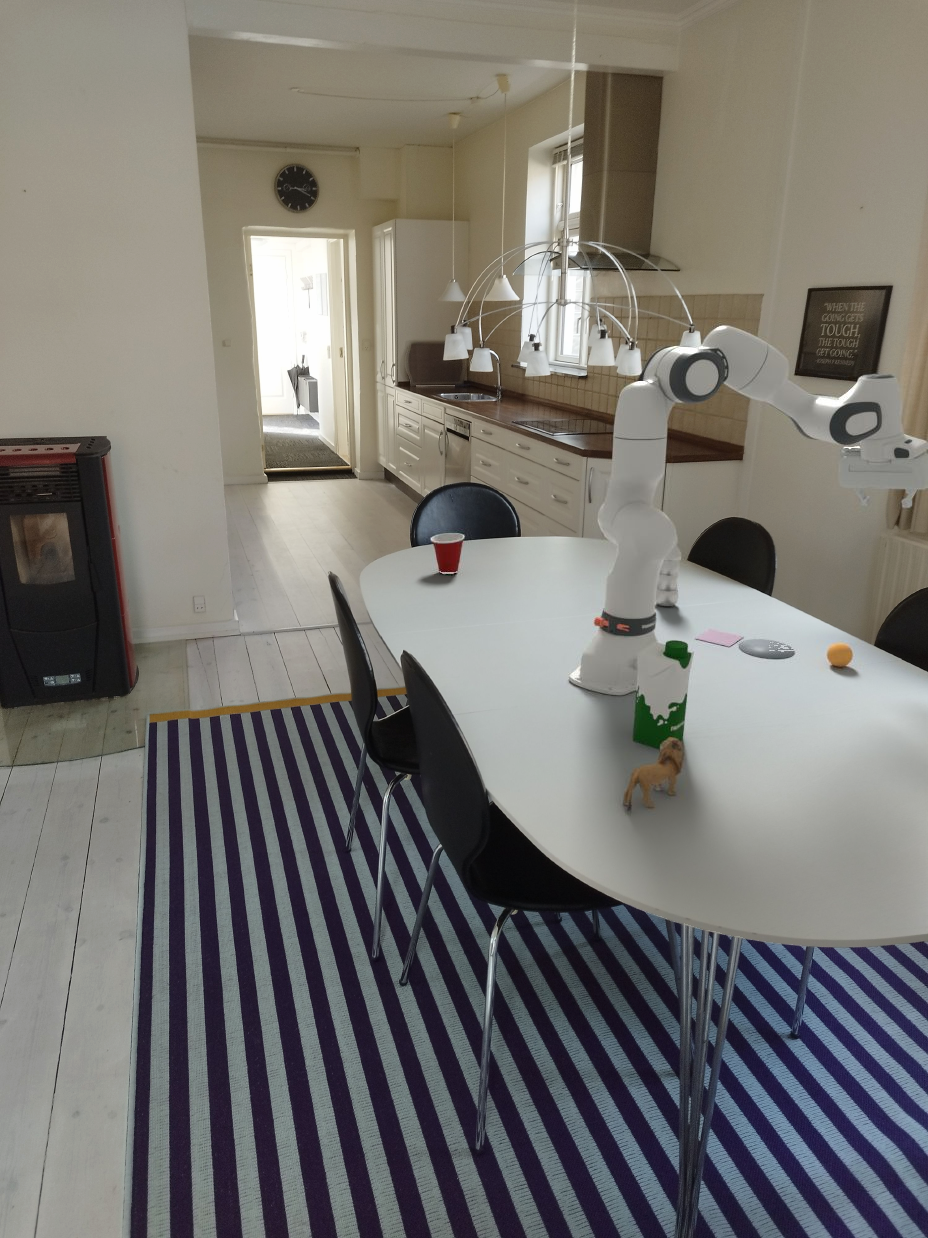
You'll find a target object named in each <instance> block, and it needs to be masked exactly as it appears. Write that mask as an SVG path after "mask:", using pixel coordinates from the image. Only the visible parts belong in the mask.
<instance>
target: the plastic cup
mask: <svg viewBox="0 0 928 1238" xmlns="http://www.w3.org/2000/svg"><path fill="white" fill-rule="evenodd" d="M464 540H465V534H462V533H457V532H448V533H440V534H436V535H434V536H432V537H430V541H431V543H432V546H433V547H434V548H433V549H434V552H435V558H436V563H437V567H438V572H439V571H441V572H456V571H457V572H458V571H459V564H460V561H461V554H462V548H463V543H464Z"/></svg>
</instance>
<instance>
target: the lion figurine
mask: <svg viewBox="0 0 928 1238" xmlns="http://www.w3.org/2000/svg"><path fill="white" fill-rule="evenodd" d="M684 750H685V747H684V745H683V744H682V742H681V740H680V741H679V740H678V739H677V738H672V737H669V738H668V739H667V740H665V741H664V742H663V743H662V744H661V745H660V749H659V756H658V760H657V761H656V762H654V763H651V764H648V765H639V766H637V767H636V768H634V769H633V771H632V773H631V775H630V780H629V783H628V787H627V789H626V790H625V792H624V793H623V798H622V799H623V800H622V804H623V805H624V806H627V809H626V812H631V811H632V795H633V791H634V790H635V789H636V787H637V786H638V785H639V787H640V789H641V791H642V797H641V798H642V799H641V800H642V802H643V803H644V804H645V806H646V807H648V808H651V809H652V808H654V807H655V803H654V802H652V801H649V797H650V794H651V793H652V792H651V791H652V788H654V790H655V791H657V792H659V791H661V790H662V788H663V787H662V784H663V783H664V782H666V781H667V780H668V783H669V784H668V789H667V791H668V792H667V793H668V794H669V795H670V796H676V795H677V793H676V791H675V786H676V784H677V783H676V782H677V776H678V775H680V774H681V773H682V769H683V767H684V766H683V765H684V756H685V751H684ZM652 785H654V787H652Z"/></svg>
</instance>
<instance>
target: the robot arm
mask: <svg viewBox="0 0 928 1238" xmlns="http://www.w3.org/2000/svg"><path fill="white" fill-rule="evenodd" d="M789 374H790V363H789V360H788V358H787V357H786V356H785V355H784V354H782V353H781V352H780V351H779V350H778V349H777V348H775V347H774V346H773V345H771V344H769V343H768V342H767V341H765V340H763V339H762V338H760V337H758V336H756V335H754V334H752V333H750V332H748V331H745V330H742V329H740V328H737V327H734V326H731V325H721V326H718V327H715V328H714V329H713V330H711V331H710V332H709V333H708V334H707V335H706V337H705V338H704V340H703V341H702V343H701V344H700V346H698V347H692V346H689V345H688V346H687V345H675V346H674V345H669V346H664V347H661V348H659V349H657V350H656V351H654V352H653V353H652V354H650V356H649V357H648V359H647V360H646V362H645V364H644V367H643V369H642V371H641V373H640V375H639V376H638V379H637V381H636V382H635V381H634V382H632V383H630V384H628V385H626V386H625V387H623V389H621V392H620V394H619V397H618V401H617V405H616V410H615V415H614V423H613V439H612V440H613V441H612V457H611V459H612V460H611V462H612V463H611V473H610V479H609V484H608V486H607V487H608V488H607V491H606V495H605V499H604V502H603V504H601V506H600V507H599V510H598V512H597V524H598V526H599V528H600V530H601V533H602V534H603V536H604V537H605V538H606V539H607V540H608V541H610V542H611V543H613V544H614V545H616V556H615V559H614V564H613V566H612V569H611V571H610V572H608V574H607V576H606V583H605V596H604V597H605V599H604V608H603V609H602V612H601V615H600V616H595V618H594V620H593V625H594V626H595V627H599V628H598V630H597V631H596V632H595V634H594V635H593V637H592V638H591V640H590V641H589V643H588V645H587V646H586V648H585V650H583V653H582V655H581V657H580V665H579V666H578V667H577V668H575V670H574V671H572V672H571V674H569V676H568V681H569V682H571V683H572V684H574V685H575V686H578V687H581V688H582V689H586V690H590V691H593V692H595V693H600V694H606V695H611V696H612V695H613V696H624V695H627V694H630V693H632V692H636V688H637V674H638V662H637V653H638V652H640V651H642V650H643V649H645V648H647V647H649V646H650V645H652V644H654V643H660V642H659V640H658V639H657V636H656V634H655V630H656V624H657V613H656V611H655V610H656V609H655V608H656V602H655V600H656V589H657V581H658V576H659V573H660V570H661V567H662V564H663V561H664V558H665V556H666V555H668V554H669V553H670V552H671V550H672V549H673V547H674V545H675V543H676V539H677V536H678V533H677V532H678V531H677V529H676V525H675V524H674V523H673V521H672V520H671V519H670V517H669V516H668V515H667V514H666V513H665V512H663V510H660V508H656V507H655V506H654V504H653V503H654V496H655V493H656V490H657V487H658V484H659V482H660V480H661V479H662V478H664V474H665V472H666V471H665V470H666V457H667V456H666V455H667V442H668V420H669V416H670V413H671V411H672V409H673V407H674V406H675V404H676V403H678V404H679V403H681V404H688V405H695V404H700V403H703V402H706V401H708V400H709V399H711V398H712V397H713V396H715V394H716V393H718V391H719V390H720V388H721V386H722V385H723V384H724V385H726V386H727V387H729V388H730V389H732V390H734V391H735V392H737V393H739V394H741V395H742V396H745V397H747V398H750V399H752V400H755V401H759V402H765V403H767V404H768V405H770V406H772V407H774V408H775V409H777V410H778V411H780V412H781V413H783V414H784V415H786V416H787V417H788V418H789V419H790V420H791V421H792V423H793V425H794V426H795V428H796V429H797V430H798V433H800V434H801V435H802V437H804V438H806V439H809V440H815V441H816V440H818V441H823V442H826V443H830V444H834V445H839V446H844V447H843V448H842V449H840V450H839V452H838V454H837V459H838V464H839V465H838V484H839V486H841V487H842V488H854V493H856V495H857V497H858V498H859V499H860V506H865V507H866V506H869V505H871V504H872V501H871V496H870V495H868V494H867V493H866V491H865V489H889V490H892V489H893V490H905V493H906V494H907V496H906V497H905V498H903V499H902V500H901V507H902V508H906V509H907V508H908V509H909V508H911V507H912V506H913V497H915V494H916V493H917V491H918V490H920V491H921V490H922V491H923V490H926V489H927V488H928V453H927V450H928V441H927V440H925V439H921V438H917V437H915V436H911V435H908V434H905V433H904V432H905V431H904V426H903V424H902V414H903V400H902V392H901V388H900V383H899V381H898V379H897V377H896V376H894V375H892V374H888V373H870V374H869V373H868V374H863V375H862V376H859V377H858V378H857V382H856V383H854V385H853V386H852V388H850V389H849V390H848V391H847V392H846V393H845V394H843V395H842V396H840V397H836V396H835V397H834V396H831V395H826V394H824V393H810V392H807V391H805V389H802V387H800V386H798V385H797V384H795V383H794V382H792V381H791V380H789V379H788V377H789ZM858 442H859V446H853V447H852V446H851V445H853V444H856V443H858ZM850 446H851V447H850Z"/></svg>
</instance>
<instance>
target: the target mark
mask: <svg viewBox="0 0 928 1238" xmlns="http://www.w3.org/2000/svg"><path fill="white" fill-rule="evenodd" d="M770 642H771V643H770ZM772 642H773V643H772ZM780 642H781V641H776V640H771V639H765V638H764V639H762V638H757V639H756V638H752V639H746V640H742V641H740V642H739V643H738V646H739V647H738V648H739V650H740V651H741V652H743V653H745V654H746V655H747V654H748V655H749V656H753V657H755V658H756V657H757V658H760V659H768V660H769V658H773V660H775V659H774V658H782V659H788V658H790V656H791V657H792V656H794V655H795V650H794V648H793V647H792V646H790V645H788V644H786V643H784V642H781V643H780ZM777 643H779V644H777ZM769 645H770V646H769ZM774 645H778V646H774ZM781 645H787V646H784V647H788V648H789V649H783V648H780V647H781ZM769 647H771V648H769ZM778 648H780V649H778ZM791 648H793V649H791ZM769 650H775V651H769ZM778 650H794V651H784V652H781V651H778ZM793 654H794V655H793ZM787 657H788V658H787Z"/></svg>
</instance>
